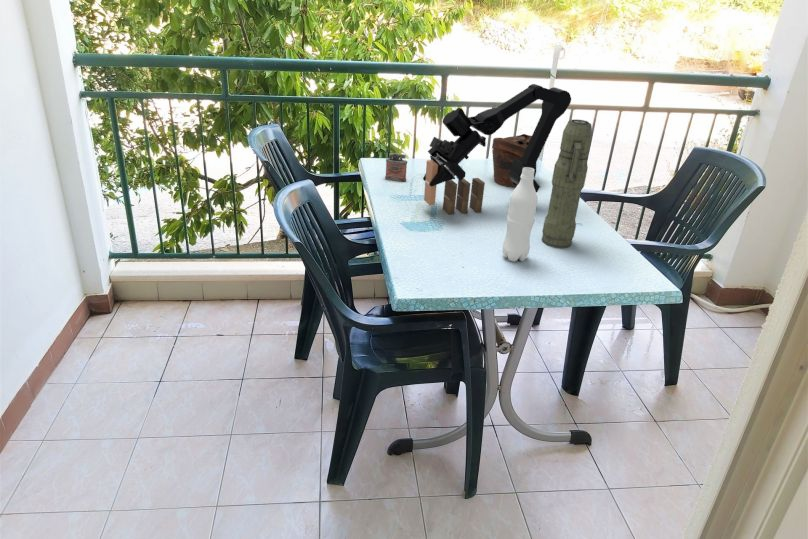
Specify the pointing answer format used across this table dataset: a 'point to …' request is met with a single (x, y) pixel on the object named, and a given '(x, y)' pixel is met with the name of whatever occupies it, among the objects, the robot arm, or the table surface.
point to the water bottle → (520, 217)
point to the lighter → (396, 168)
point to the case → (507, 156)
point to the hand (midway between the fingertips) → (426, 182)
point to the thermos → (567, 184)
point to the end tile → (430, 174)
